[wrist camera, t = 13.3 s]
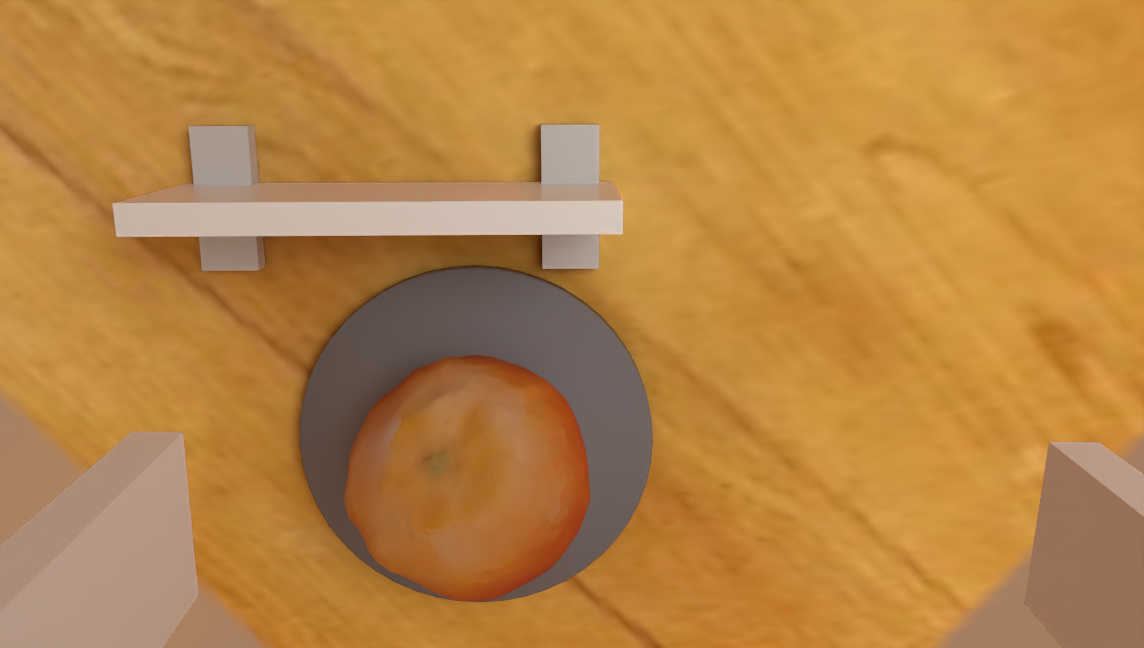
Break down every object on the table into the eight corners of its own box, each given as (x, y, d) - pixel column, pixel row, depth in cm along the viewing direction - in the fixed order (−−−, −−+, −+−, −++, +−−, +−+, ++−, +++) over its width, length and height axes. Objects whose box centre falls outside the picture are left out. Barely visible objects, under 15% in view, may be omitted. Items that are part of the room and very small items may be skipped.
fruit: (459, 633, 36) (367, 648, 29) (386, 442, 39) (284, 409, 31) (653, 538, 36) (611, 529, 28) (566, 350, 38) (505, 294, 31)
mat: (293, 266, 35) (287, 270, 35) (653, 264, 35) (655, 268, 35) (316, 593, 38) (311, 603, 38) (647, 590, 39) (649, 600, 38)
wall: (182, 125, 34) (104, 133, 28) (612, 123, 34) (623, 131, 28) (195, 266, 35) (123, 302, 29) (612, 264, 35) (622, 299, 30)
